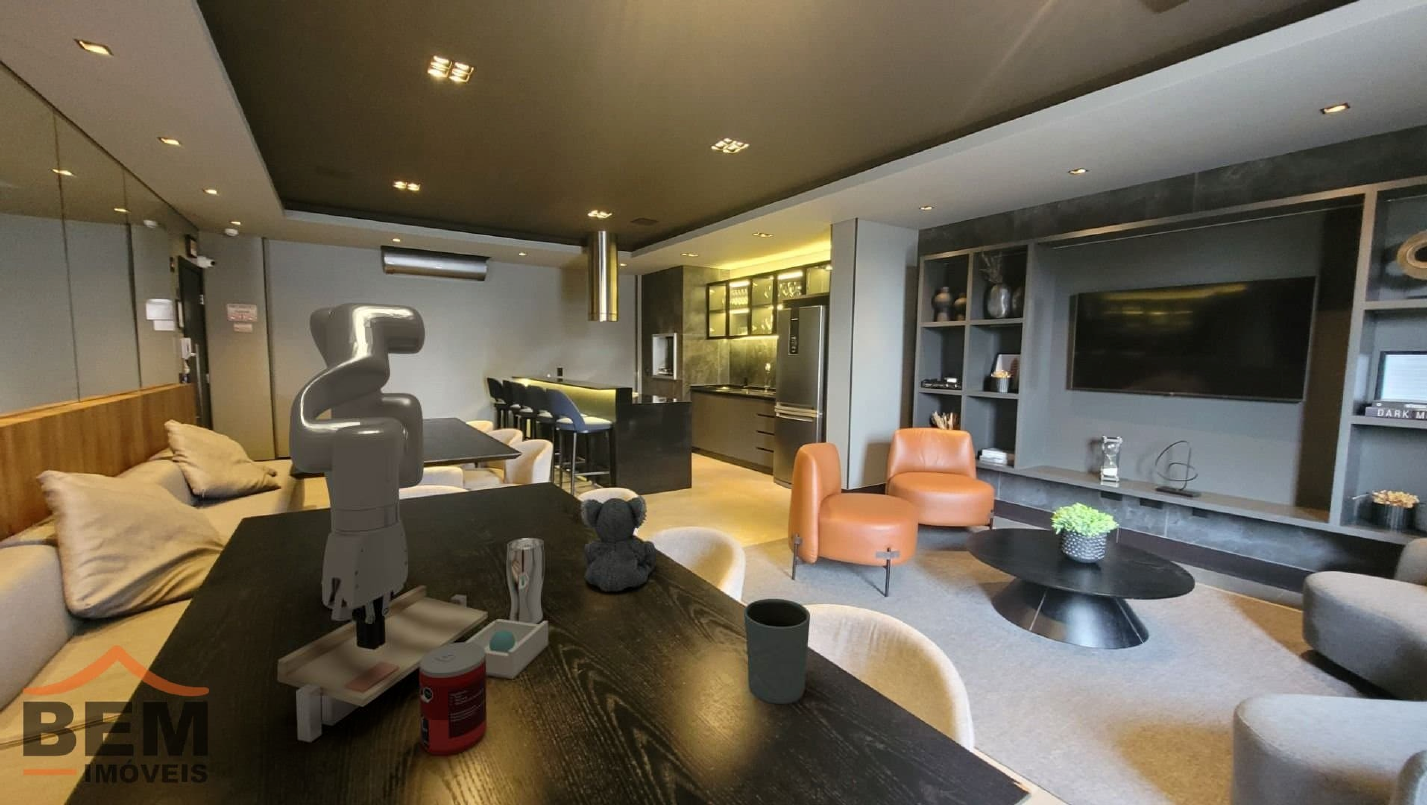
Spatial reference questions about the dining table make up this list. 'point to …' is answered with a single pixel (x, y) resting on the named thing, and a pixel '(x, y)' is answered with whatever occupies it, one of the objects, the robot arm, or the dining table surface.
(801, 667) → the dark green cup
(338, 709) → the lever stand
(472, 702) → the canned food
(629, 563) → the koala plush
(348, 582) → the robot arm
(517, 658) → the white open box
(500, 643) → the ball
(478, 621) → the lever
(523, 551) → the beer glass
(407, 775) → the dining table surface
